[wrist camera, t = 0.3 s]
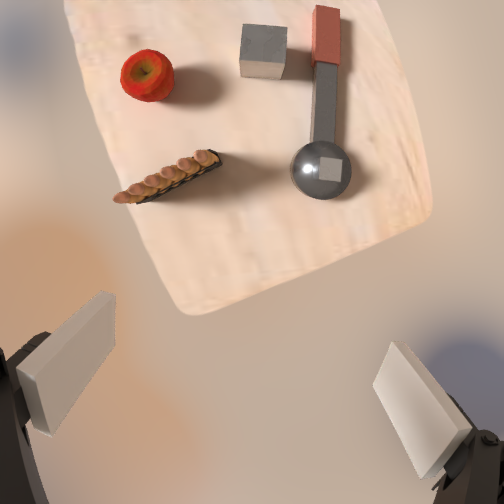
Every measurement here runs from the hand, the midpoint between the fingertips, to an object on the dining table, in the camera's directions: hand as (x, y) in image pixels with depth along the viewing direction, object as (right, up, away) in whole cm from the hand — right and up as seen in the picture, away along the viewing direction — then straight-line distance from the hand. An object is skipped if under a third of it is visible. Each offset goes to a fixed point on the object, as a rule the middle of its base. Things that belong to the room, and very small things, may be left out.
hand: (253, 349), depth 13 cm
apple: (-12, +26, +22) cm, 36 cm away
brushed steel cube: (+1, +29, +21) cm, 35 cm away
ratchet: (+9, +24, +22) cm, 34 cm away
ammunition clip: (-9, +14, +25) cm, 30 cm away
